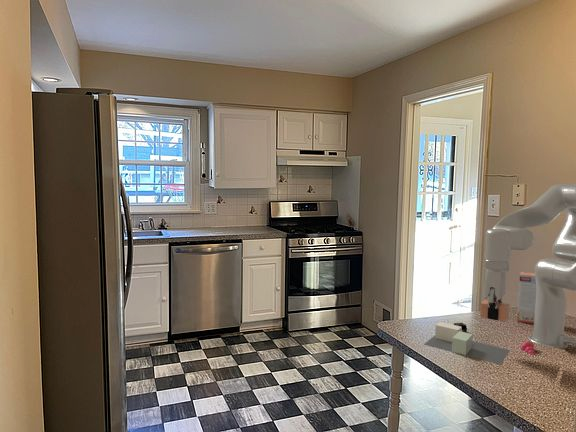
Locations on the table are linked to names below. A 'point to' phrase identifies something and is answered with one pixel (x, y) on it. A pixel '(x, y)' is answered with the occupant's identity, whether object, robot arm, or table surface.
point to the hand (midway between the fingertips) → (494, 316)
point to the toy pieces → (528, 347)
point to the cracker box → (526, 298)
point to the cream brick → (446, 331)
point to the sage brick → (462, 343)
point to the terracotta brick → (502, 314)
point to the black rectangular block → (462, 326)
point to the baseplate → (474, 350)
